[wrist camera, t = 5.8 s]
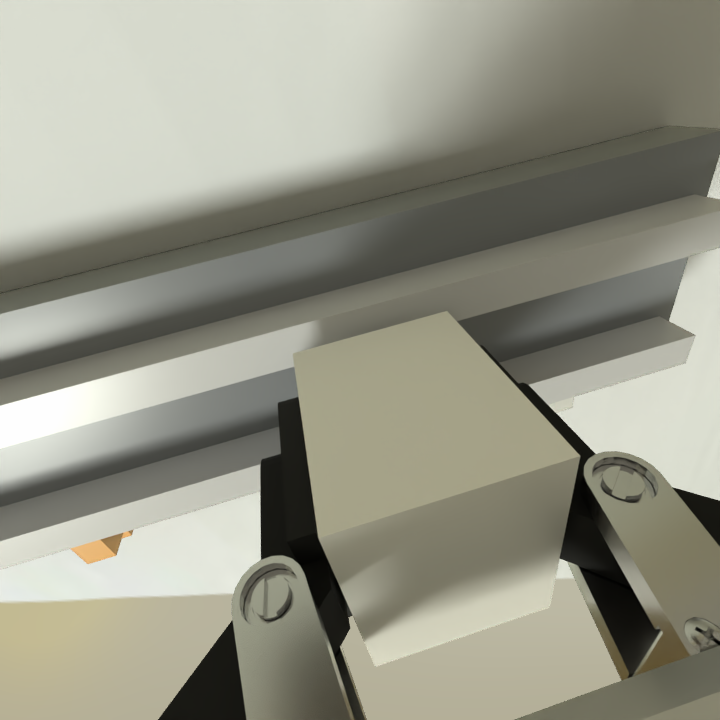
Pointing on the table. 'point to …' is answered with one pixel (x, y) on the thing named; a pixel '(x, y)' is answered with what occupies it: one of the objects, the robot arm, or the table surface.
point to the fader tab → (431, 484)
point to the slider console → (333, 326)
